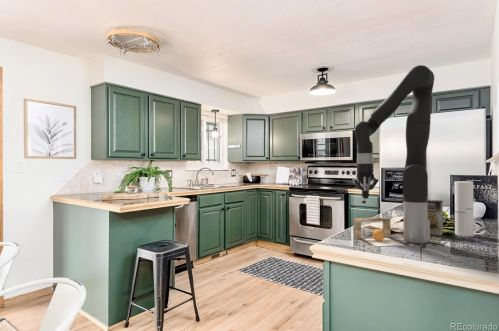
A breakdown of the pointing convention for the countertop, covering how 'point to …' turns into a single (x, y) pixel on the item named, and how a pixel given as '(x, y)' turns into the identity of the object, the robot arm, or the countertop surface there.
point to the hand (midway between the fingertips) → (365, 198)
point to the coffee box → (435, 216)
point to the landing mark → (384, 242)
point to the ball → (378, 235)
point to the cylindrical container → (464, 208)
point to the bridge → (358, 221)
